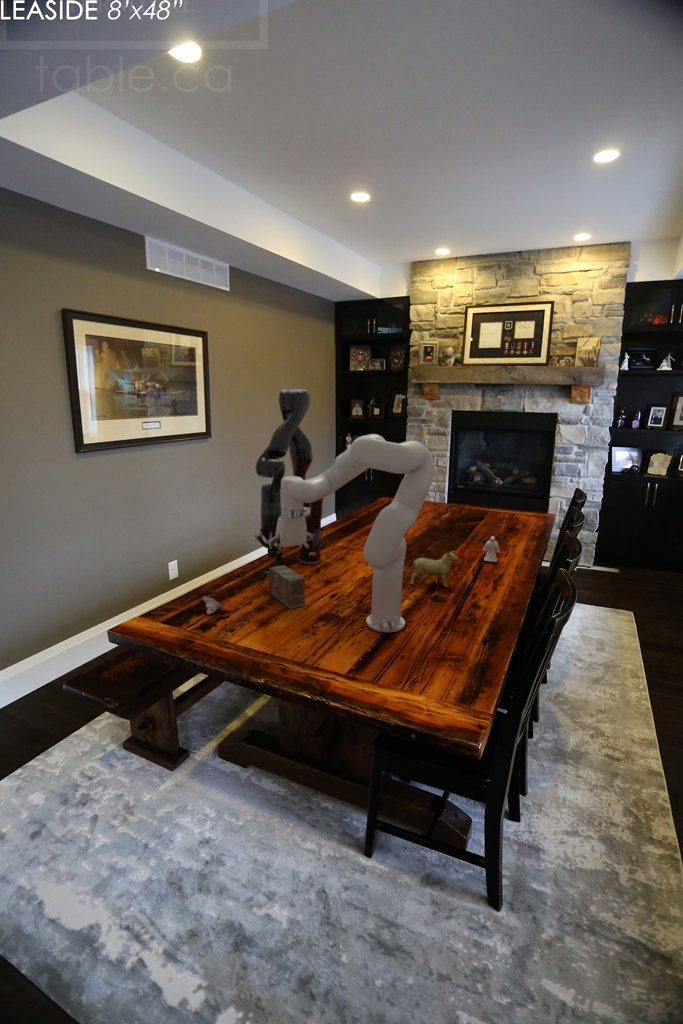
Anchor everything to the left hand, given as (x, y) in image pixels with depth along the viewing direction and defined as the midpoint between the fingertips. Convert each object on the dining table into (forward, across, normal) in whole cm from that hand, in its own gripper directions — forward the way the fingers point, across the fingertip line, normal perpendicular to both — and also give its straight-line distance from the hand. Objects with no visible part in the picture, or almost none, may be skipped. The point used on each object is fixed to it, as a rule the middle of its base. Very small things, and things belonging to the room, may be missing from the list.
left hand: (271, 557), depth 187 cm
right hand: (-4, 0, +16) cm, 16 cm away
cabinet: (+12, 0, +12) cm, 17 cm away
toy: (+12, -55, +30) cm, 64 cm away
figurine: (+12, -98, +22) cm, 101 cm away
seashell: (+12, +26, +9) cm, 30 cm away
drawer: (+11, 0, +7) cm, 13 cm away
